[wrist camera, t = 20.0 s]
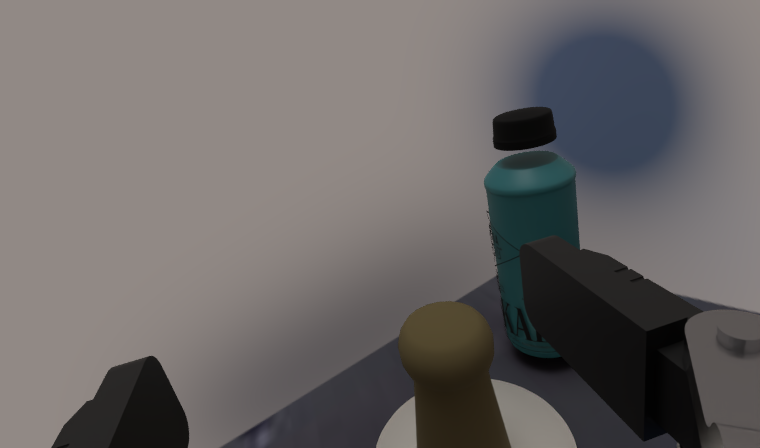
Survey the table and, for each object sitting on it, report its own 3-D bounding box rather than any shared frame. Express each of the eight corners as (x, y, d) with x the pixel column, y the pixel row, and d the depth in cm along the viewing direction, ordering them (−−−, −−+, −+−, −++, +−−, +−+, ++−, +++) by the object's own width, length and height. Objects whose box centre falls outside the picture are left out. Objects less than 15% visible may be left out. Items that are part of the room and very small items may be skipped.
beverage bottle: (564, 317, 41) (543, 95, 34) (608, 363, 35) (594, 103, 27) (495, 336, 40) (459, 116, 33) (528, 386, 34) (492, 130, 27)
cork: (404, 437, 31) (372, 307, 26) (483, 405, 32) (466, 275, 27) (439, 521, 25) (407, 376, 21) (533, 478, 27) (523, 332, 22)
